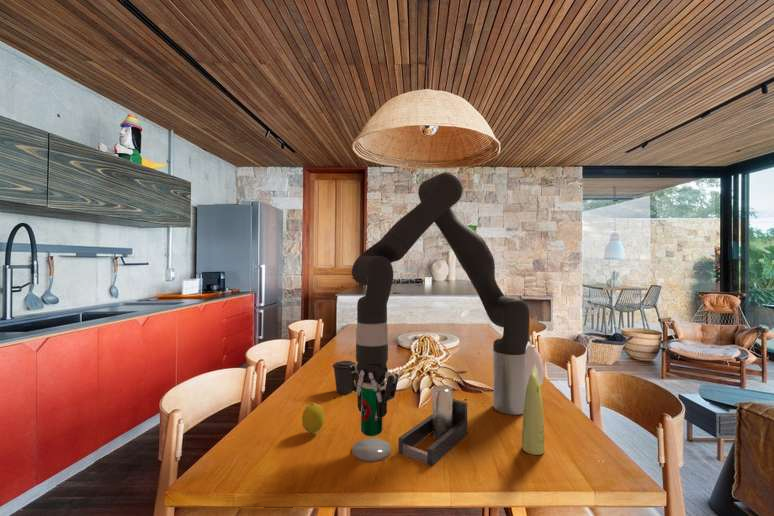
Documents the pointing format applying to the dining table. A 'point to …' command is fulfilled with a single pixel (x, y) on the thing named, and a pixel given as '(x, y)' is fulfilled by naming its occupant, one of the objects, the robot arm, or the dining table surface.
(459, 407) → the can rack
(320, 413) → the lemon
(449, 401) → the grey metal cylinder
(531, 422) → the tube
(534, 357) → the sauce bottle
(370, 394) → the soda can
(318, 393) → the dining table surface
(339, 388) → the coffee cup
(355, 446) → the grey disc
